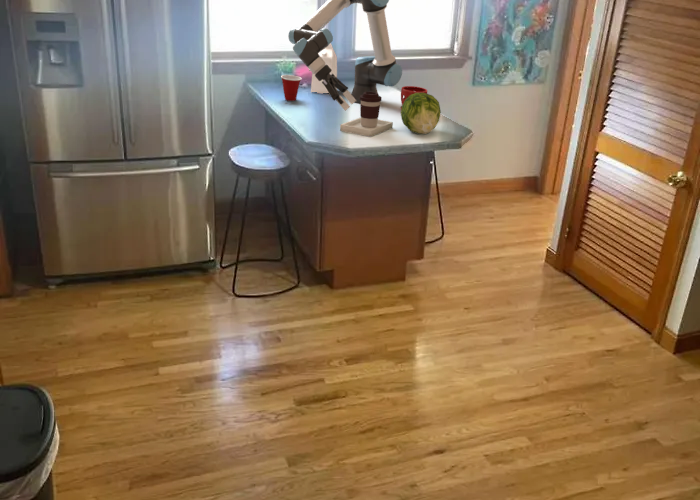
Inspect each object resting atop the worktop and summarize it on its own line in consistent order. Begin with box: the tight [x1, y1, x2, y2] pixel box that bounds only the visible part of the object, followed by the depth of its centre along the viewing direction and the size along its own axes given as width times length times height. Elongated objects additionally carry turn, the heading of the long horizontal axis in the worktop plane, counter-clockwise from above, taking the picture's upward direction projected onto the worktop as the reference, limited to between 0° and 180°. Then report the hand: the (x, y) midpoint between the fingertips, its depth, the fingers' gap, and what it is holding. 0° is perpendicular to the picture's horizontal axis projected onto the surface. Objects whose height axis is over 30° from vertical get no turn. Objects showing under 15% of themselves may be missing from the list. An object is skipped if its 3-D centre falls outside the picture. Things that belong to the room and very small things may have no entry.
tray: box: [339, 116, 394, 138], centre depth 331 cm, size 20×16×3 cm
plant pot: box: [400, 85, 428, 110], centre depth 366 cm, size 13×13×12 cm
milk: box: [310, 42, 338, 94], centre depth 398 cm, size 12×12×26 cm
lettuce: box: [400, 93, 442, 135], centre depth 329 cm, size 18×23×19 cm
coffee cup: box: [359, 92, 383, 128], centre depth 330 cm, size 10×10×15 cm
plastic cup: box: [280, 74, 303, 102], centre depth 378 cm, size 11×11×12 cm
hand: (351, 105), depth 331 cm, fingers open, 13 cm apart
